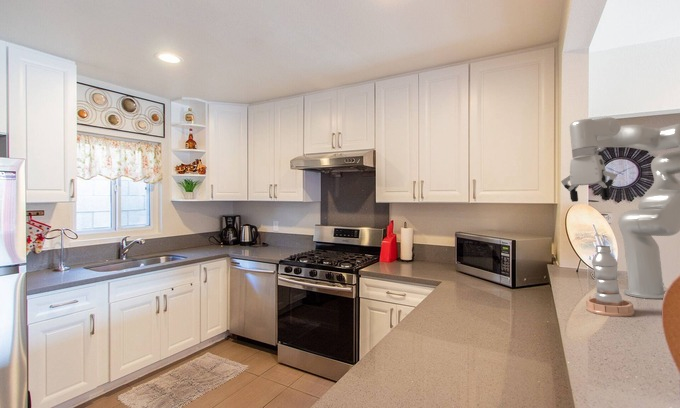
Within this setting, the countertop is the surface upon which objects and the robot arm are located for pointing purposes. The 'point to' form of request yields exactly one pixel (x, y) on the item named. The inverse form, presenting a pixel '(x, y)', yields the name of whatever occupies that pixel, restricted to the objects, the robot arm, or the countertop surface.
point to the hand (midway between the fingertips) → (589, 200)
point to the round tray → (610, 308)
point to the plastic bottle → (606, 277)
